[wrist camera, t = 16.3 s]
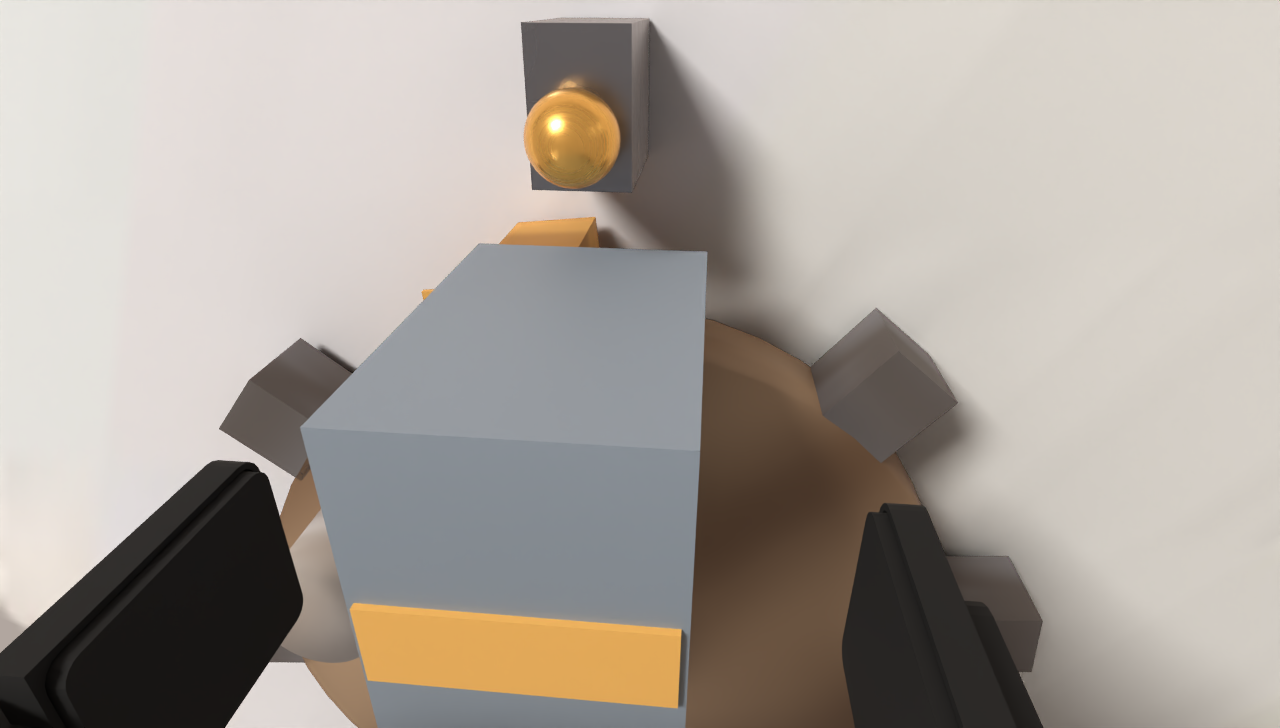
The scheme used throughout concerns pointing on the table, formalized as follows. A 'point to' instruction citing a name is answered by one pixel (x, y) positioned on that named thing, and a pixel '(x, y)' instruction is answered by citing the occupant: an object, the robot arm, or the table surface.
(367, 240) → the table surface
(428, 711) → the link block
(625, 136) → the block with gold knob
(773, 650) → the sprocket
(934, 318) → the table surface
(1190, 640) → the table surface
